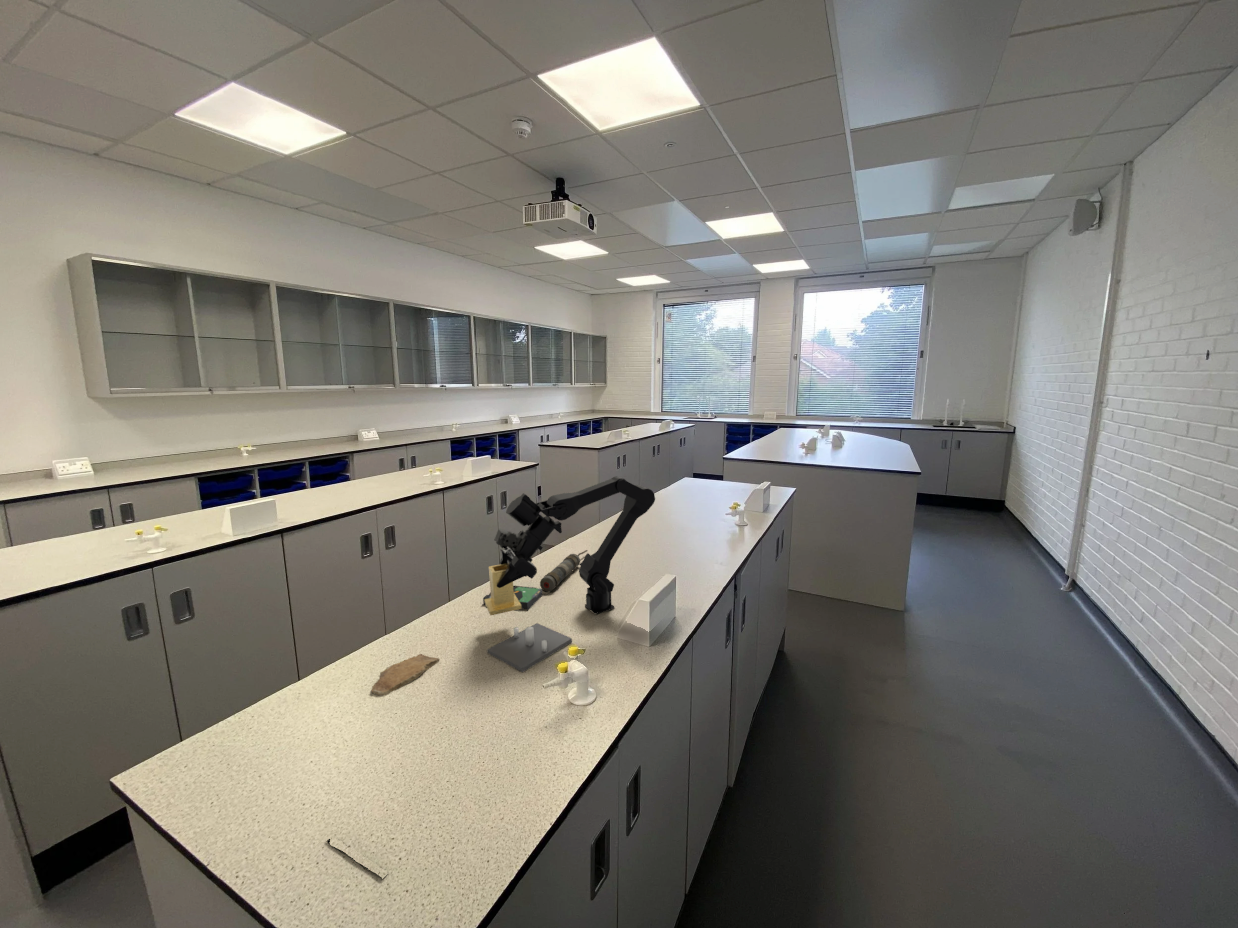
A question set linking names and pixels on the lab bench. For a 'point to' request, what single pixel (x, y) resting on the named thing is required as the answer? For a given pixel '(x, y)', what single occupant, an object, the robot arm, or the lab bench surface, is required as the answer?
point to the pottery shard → (402, 673)
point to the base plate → (529, 646)
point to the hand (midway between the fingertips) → (495, 583)
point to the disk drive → (524, 596)
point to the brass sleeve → (500, 593)
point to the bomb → (560, 572)
